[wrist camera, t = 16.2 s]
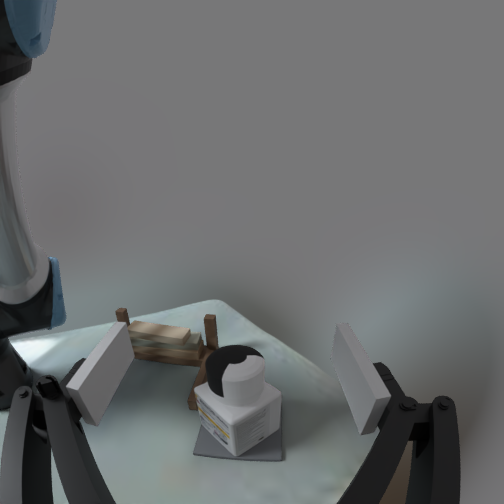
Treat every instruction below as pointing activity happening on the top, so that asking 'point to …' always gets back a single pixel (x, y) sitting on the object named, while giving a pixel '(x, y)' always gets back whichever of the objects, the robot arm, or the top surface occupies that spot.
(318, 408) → the top surface
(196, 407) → the walnut rack
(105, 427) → the top surface
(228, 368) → the container
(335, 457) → the top surface
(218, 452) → the rubber mat
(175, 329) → the offcut stack
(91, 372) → the robot arm
